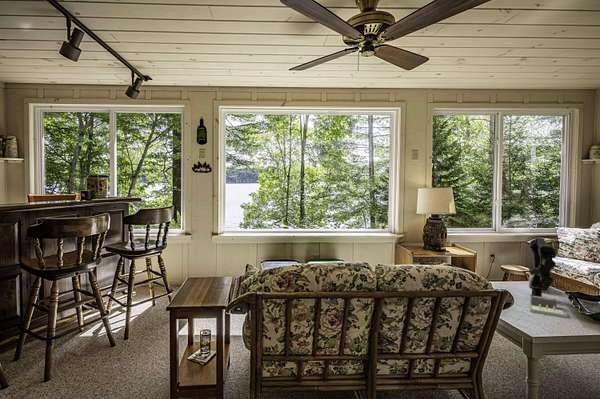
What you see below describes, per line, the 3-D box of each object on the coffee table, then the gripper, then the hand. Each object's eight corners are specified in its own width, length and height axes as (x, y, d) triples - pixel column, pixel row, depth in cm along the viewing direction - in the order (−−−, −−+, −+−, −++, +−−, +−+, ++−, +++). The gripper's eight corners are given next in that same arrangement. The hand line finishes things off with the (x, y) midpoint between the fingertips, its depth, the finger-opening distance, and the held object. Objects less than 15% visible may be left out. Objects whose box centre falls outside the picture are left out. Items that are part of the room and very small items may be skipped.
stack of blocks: (528, 284, 257) (529, 268, 257) (538, 285, 255) (539, 269, 255) (539, 292, 237) (540, 276, 236) (549, 293, 235) (550, 276, 234)
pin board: (528, 306, 207) (528, 300, 207) (563, 312, 198) (564, 305, 198) (530, 311, 199) (530, 304, 199) (567, 318, 190) (567, 310, 190)
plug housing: (530, 302, 215) (530, 294, 215) (554, 306, 209) (555, 298, 209) (531, 304, 211) (531, 297, 211) (556, 308, 205) (556, 300, 204)
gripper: (528, 260, 221) (526, 282, 222) (532, 266, 204) (530, 290, 205) (548, 262, 215) (546, 285, 216) (554, 269, 199) (552, 293, 200)
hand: (543, 288), depth 210 cm, fingers open, 9 cm apart
